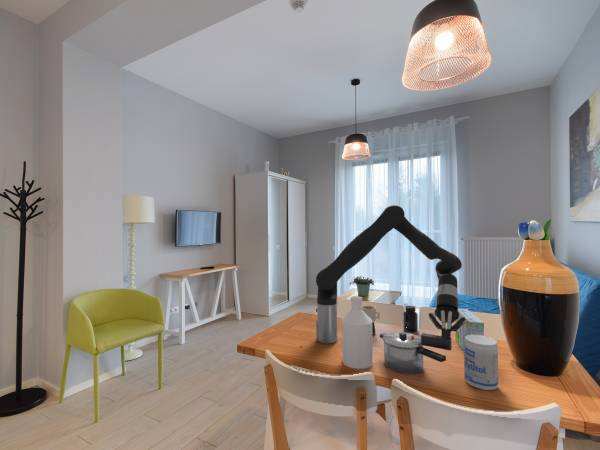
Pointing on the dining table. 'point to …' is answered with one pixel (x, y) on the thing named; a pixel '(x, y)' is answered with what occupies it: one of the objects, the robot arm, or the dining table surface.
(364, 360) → the bottle
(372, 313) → the character mug
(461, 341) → the snack box
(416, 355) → the pot
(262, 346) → the dining table surface
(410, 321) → the supplement bottle
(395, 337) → the lid
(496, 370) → the supplement tub
